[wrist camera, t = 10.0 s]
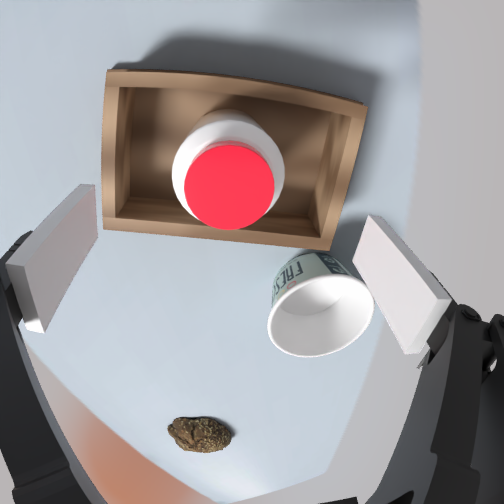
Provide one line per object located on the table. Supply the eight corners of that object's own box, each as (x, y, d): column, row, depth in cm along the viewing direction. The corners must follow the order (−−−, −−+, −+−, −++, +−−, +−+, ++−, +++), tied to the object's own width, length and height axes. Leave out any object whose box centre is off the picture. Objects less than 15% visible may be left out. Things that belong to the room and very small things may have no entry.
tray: (110, 69, 24) (86, 69, 19) (359, 101, 28) (387, 109, 22) (105, 204, 31) (85, 230, 26) (327, 226, 34) (345, 255, 29)
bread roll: (235, 438, 59) (236, 458, 55) (180, 443, 59) (180, 463, 55) (219, 411, 52) (220, 434, 48) (157, 417, 53) (154, 439, 48)
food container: (328, 327, 43) (341, 362, 37) (247, 311, 40) (251, 350, 34) (372, 256, 37) (394, 288, 32) (283, 229, 34) (296, 262, 29)
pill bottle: (283, 161, 29) (314, 207, 20) (214, 203, 31) (212, 265, 22) (240, 92, 26) (251, 100, 16) (168, 139, 27) (139, 174, 18)
